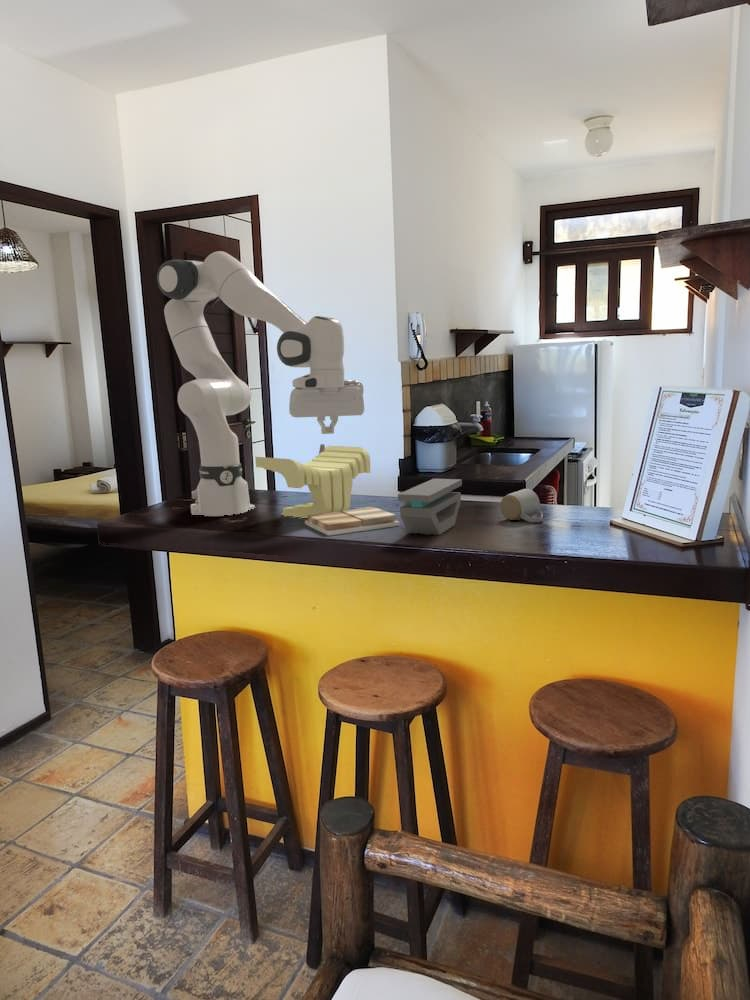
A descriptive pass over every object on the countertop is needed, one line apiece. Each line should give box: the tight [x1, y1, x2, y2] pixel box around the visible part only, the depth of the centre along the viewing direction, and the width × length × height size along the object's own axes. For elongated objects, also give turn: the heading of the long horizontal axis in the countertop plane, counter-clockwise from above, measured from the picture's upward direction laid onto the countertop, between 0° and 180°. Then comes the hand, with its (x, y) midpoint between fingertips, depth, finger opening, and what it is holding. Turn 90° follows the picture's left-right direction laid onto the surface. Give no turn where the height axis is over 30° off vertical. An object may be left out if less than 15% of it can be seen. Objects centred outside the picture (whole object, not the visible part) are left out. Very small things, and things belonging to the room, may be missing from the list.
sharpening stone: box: [397, 478, 463, 536], centre depth 178 cm, size 25×8×11 cm, turn 156°
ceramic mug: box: [499, 488, 544, 523], centre depth 185 cm, size 11×8×8 cm
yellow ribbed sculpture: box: [254, 445, 371, 519], centre depth 200 cm, size 30×16×18 cm, turn 143°
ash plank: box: [342, 506, 397, 525], centre depth 188 cm, size 14×9×2 cm, turn 27°
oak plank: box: [307, 512, 361, 531], centre depth 184 cm, size 14×9×2 cm, turn 27°
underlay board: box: [304, 519, 401, 536], centre depth 186 cm, size 16×20×1 cm
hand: (327, 433), depth 187 cm, fingers closed
